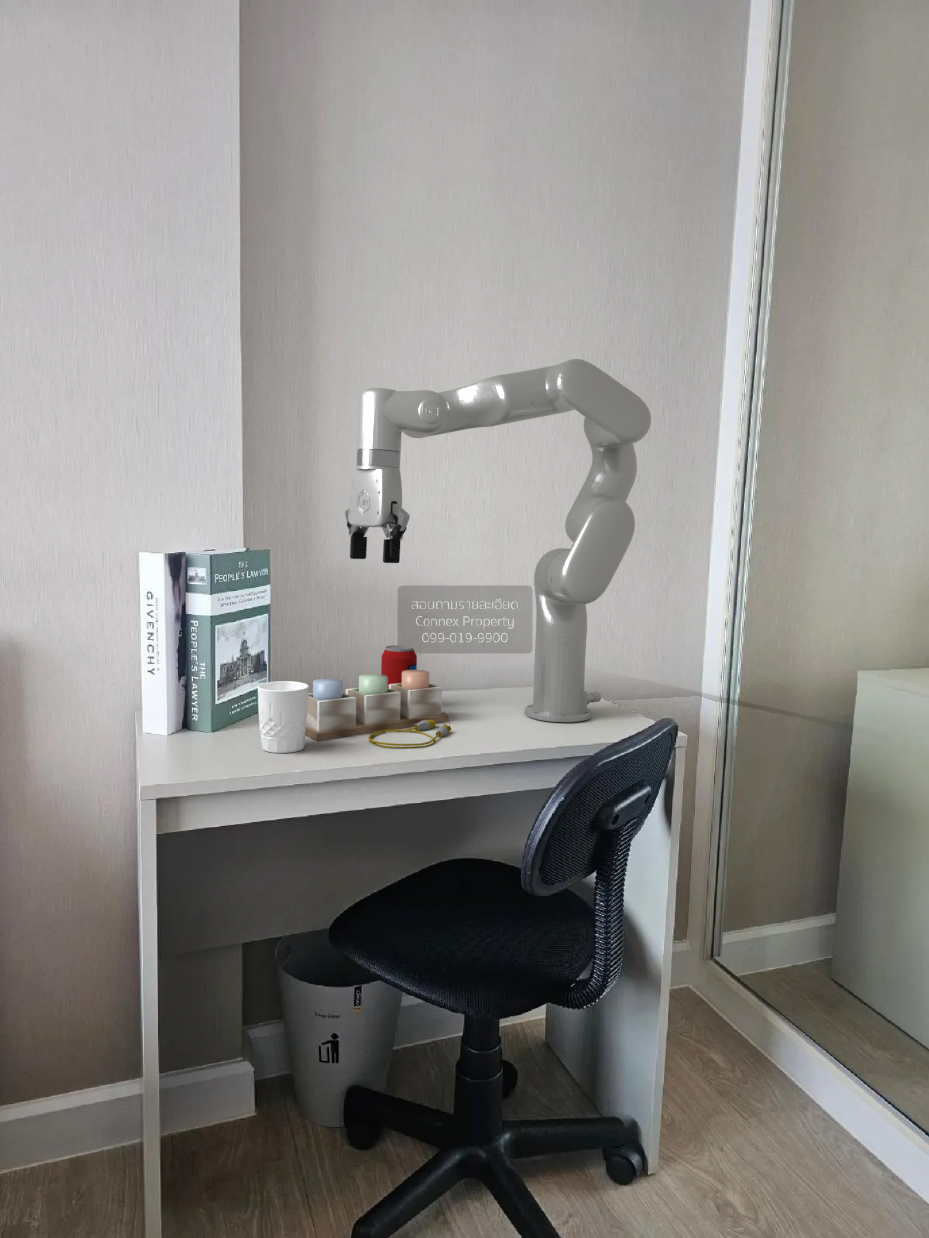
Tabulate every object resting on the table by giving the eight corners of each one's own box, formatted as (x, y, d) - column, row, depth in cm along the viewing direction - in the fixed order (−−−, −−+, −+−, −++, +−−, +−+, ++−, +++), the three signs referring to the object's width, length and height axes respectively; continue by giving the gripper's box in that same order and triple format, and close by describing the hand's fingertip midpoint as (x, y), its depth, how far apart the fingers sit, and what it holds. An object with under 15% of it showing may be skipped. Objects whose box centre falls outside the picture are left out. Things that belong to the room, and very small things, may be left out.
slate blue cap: (333, 705, 156) (333, 677, 156) (347, 711, 152) (348, 682, 152) (307, 709, 153) (307, 680, 153) (321, 714, 149) (321, 685, 149)
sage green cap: (377, 700, 162) (377, 673, 161) (392, 705, 158) (393, 677, 157) (353, 703, 159) (353, 675, 158) (368, 708, 155) (368, 680, 154)
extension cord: (470, 744, 149) (470, 733, 149) (383, 754, 142) (383, 742, 141) (436, 728, 160) (437, 717, 160) (354, 736, 152) (354, 725, 152)
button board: (420, 711, 171) (421, 679, 170) (448, 721, 163) (449, 687, 163) (291, 729, 154) (291, 693, 153) (316, 740, 147) (316, 703, 146)
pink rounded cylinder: (418, 695, 167) (419, 668, 167) (434, 700, 163) (434, 673, 163) (396, 698, 164) (396, 671, 164) (411, 703, 160) (411, 675, 160)
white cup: (308, 741, 147) (309, 681, 146) (307, 754, 139) (307, 690, 138) (259, 741, 146) (259, 681, 144) (255, 754, 138) (255, 690, 137)
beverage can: (420, 711, 170) (422, 649, 169) (386, 714, 168) (387, 650, 166) (409, 704, 177) (410, 644, 175) (376, 706, 174) (377, 645, 173)
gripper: (332, 460, 159) (328, 557, 161) (391, 459, 147) (386, 564, 149) (366, 464, 164) (362, 557, 166) (426, 463, 152) (422, 564, 154)
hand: (374, 560), depth 157 cm, fingers open, 9 cm apart
